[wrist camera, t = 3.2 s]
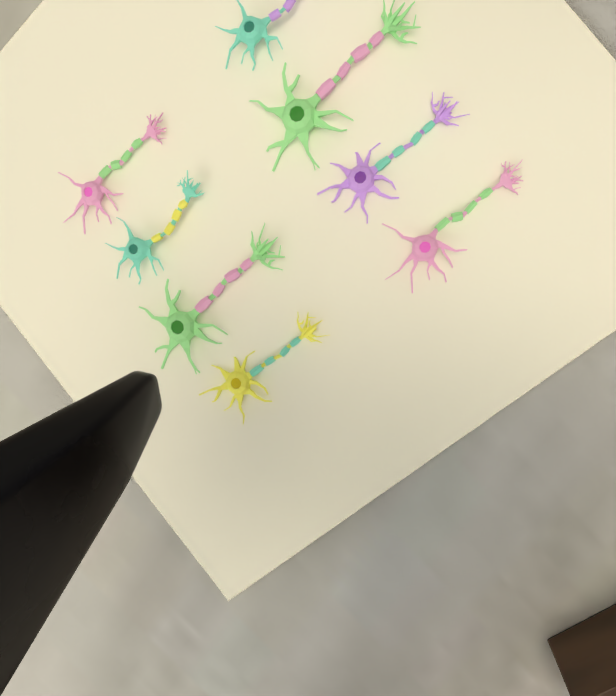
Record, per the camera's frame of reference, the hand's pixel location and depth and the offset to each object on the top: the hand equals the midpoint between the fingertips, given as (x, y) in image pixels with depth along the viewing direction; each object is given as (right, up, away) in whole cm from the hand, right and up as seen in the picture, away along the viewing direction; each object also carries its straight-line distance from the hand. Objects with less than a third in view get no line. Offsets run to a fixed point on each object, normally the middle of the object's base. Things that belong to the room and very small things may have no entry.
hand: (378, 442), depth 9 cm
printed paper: (-4, +9, +15) cm, 18 cm away
